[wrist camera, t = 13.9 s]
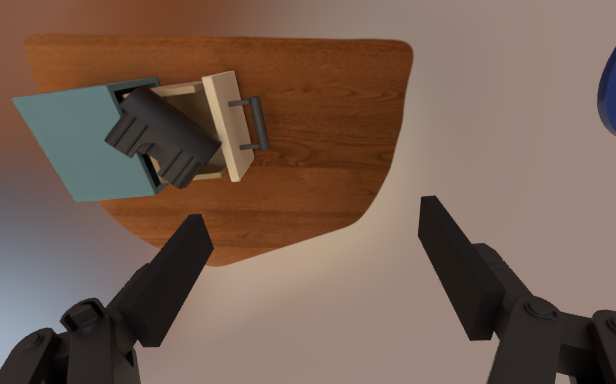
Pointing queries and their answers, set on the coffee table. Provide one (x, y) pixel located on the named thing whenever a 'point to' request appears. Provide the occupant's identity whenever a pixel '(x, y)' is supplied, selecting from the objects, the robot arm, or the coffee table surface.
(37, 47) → the coffee table surface
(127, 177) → the cabinet
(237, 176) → the drawer
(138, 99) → the end cap
